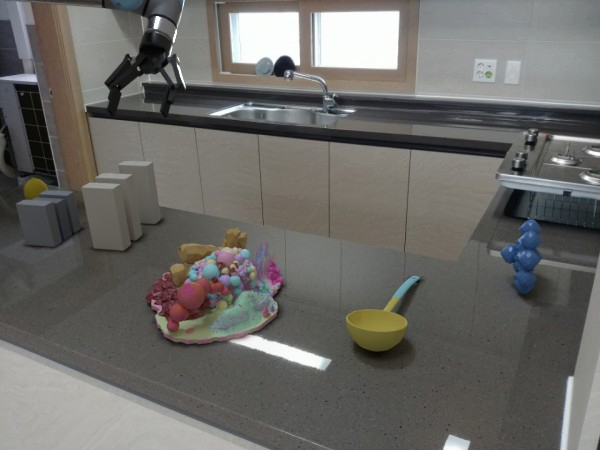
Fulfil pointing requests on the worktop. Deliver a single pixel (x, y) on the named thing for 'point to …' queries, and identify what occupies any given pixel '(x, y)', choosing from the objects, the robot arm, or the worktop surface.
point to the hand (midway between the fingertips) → (136, 114)
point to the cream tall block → (144, 189)
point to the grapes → (524, 256)
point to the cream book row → (112, 211)
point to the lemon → (34, 188)
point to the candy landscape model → (216, 292)
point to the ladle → (379, 323)
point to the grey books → (49, 218)
